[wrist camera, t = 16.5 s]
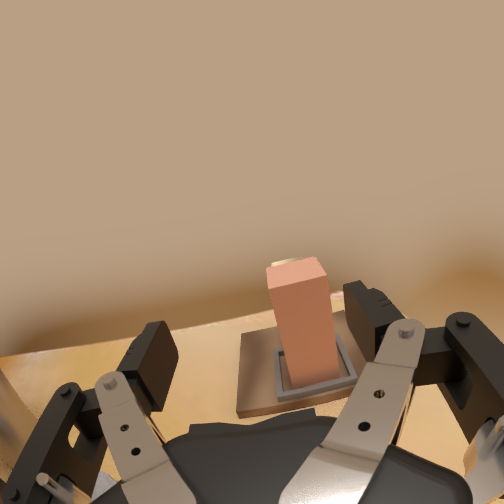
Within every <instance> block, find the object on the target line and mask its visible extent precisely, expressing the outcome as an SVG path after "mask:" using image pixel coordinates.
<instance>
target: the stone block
mask: <svg viewBox="0 0 504 504" xmlns="http://www.w3.org/2000/svg"><path fill="white" fill-rule="evenodd" d="M116 483H117V482H115V481H114V480H113V478H112V477H111V476H110V475H109V474H106V473H104V472H99V474H98V478H97V481H96V484H95V488H94V491H93V494H92V498H91V500H92V501H94V500H95V499H96V498H98V497H99V496H100V495H102V494H103V493H104V492H106V491H107V490H108V489H110V488H111V487H112V486H114V485H115V484H116Z"/></svg>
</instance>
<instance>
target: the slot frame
mask: <svg viewBox="0 0 504 504" xmlns="http://www.w3.org/2000/svg"><path fill="white" fill-rule="evenodd" d="M335 337H336V345H337V348H338V350H339V353H340V355H341V357H342V360H343V362H344V365H345V367H346V370H347V372H348V375H349V376H348V377H344V378H340V379H337V380H333V381H329V382H325V383H321V384H317V385H313V386H309V387H304V388H300V389H295V390H290V391H285V392H284V391H283V383H282V374H281V366H280V358H279V357H280V356H285V354H284V350H283V348H279V349H274V350H273V356H274V367H275V378H276V389H277V398H278V401H279V402H282V401H288V400H293V399H297V398H302V397H307V396H311V395H315V394H319V393H324V392H327V391H331V390H335V389H339V388H343V387H346V386H350V385H353V384H357V382H358V377H357V374H356V372H355V370H354V368H353V365H352V363H351V361H350V358H349V356H348V354H347V352H346V349H345V347H344V345H343V343H342V341H341V338H340V336H339V334H337V335H335Z"/></svg>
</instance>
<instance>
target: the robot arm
mask: <svg viewBox="0 0 504 504" xmlns="http://www.w3.org/2000/svg"><path fill="white" fill-rule="evenodd" d="M343 293H344V303H345V315H346V321H347V325H348V327H349V330H350V331H351V333H352V335H353V337H354V339H355V341H356V343H357V345H358V347H359V349H360V351H361V352H362V354H363V356H364V358H365V360H366V362H367V364H366V366H365V368H364V370H363V372H362V374H361V376H360V378H359V380H358V382H357V384H356V385H355V387H354V389H353V391H352V393H351V395H350V397H349V399H348V400H347V402H346V404H345V406H344V408H343V409H342V411H341V413H340V415H339V416H338V418H336V417H329V416H316V414H315V409H314V408H310V409H305V410H300V411H295V412H290V413H285V414H281V415H278V416H276V417H273V418H270V419H267V420H265V421H262V422H259V423H256V424H253V425H239V424H228V423H219V422H218V423H205V424H190V427H189V432H188V433H187V434H184V435H181V436H178V437H176V438H174V439H172V440H170V441H168V442H167V441H166V440H165V438H164V437H163V435H162V434H161V432H160V430H159V429H158V427H157V426H156V424H155V422H154V421H153V419H152V418H151V416H150V415H151V412H162V410H163V407H164V404H165V401H166V397H167V394H168V391H169V388H170V385H171V381H172V378H173V375H174V372H175V369H176V366H177V363H178V350H177V347H176V345H175V343H174V340H173V338H172V336H171V333H170V331H169V329H168V326H167V324H166V323H165V321H157V322H150V323H148V324H147V325H146V327H145V329H144V330H143V332H142V334H140V335H139V336H138V337H137V338H135V339H134V340H133V341H132V343H131V345H130V347H129V349H128V350H127V352H126V355H124V357H123V359H122V361H121V363H120V364H119V366H118V368H117V370H116V371H114V372H109V373H107V374H105V375H103V376H102V377H100V378H99V379H98V381H97V382H96V384H95V388H93V389H89V390H85V391H82V390H81V388H80V387H79V385H78V384H77V383H74V382H70V383H66V384H64V385H62V386H61V387H59V388H58V389H57V390H56V392H55V393H54V395H53V397H52V398H51V400H50V402H49V403H48V405H47V407H46V408H45V410H44V412H43V413H42V415H41V417H40V419H39V420H37V419H36V418H35V417H34V415H33V414H32V413H31V412H30V410H29V409H28V408H27V406H26V405H25V404H24V402H23V401H22V400H21V398H20V397H19V395H18V394H17V393H16V391H15V390H14V388H13V387H12V385H11V384H10V382H9V381H8V379H7V378H6V376H5V375H4V373H3V372H2V370H1V368H0V457H1V458H2V459H3V460H4V461H5V462H6V463H7V464H8V465H9V466H10V467H11V468H13V470H12V472H11V474H10V476H9V478H8V481H7V483H6V485H5V487H4V490H3V493H2V501H3V504H490V503H491V502H493V501H495V500H496V499H498V498H499V499H504V344H503V343H502V342H501V341H500V340H499V339H498V338H497V337H496V336H495V335H494V334H493V333H492V332H491V331H490V330H489V329H488V328H487V327H486V326H485V325H484V324H483V323H482V322H481V321H480V320H479V319H478V318H477V317H476V316H475V315H473V314H471V313H468V312H457V313H453V314H451V315H450V316H449V317H448V318H447V319H446V324H445V327H438V328H429V329H426V328H425V327H424V325H423V324H422V323H421V322H419V321H417V320H414V319H406V318H405V317H404V316H403V315H402V314H401V312H400V311H399V310H398V309H397V308H396V307H395V305H394V304H392V302H391V301H390V300H389V299H388V298H387V296H386V295H385V294H384V293H383V292H381V291H379V290H377V289H374V288H372V289H367V288H366V286H365V285H364V284H363V283H362V282H361V281H360V280H358V281H355V282H351V283H347V284H344V285H343ZM430 384H437V386H438V387H439V389H440V391H441V393H442V394H443V396H444V398H445V400H446V401H447V403H448V405H449V407H450V409H451V410H452V412H453V414H454V416H455V418H456V420H457V421H458V423H459V425H460V427H461V429H462V431H463V433H464V435H465V437H466V439H467V441H468V443H469V447H468V448H467V450H466V452H465V454H464V459H463V461H464V467H465V476H464V478H463V477H462V476H460V475H459V474H458V473H456V472H454V471H452V470H450V469H447V468H445V467H443V466H440V465H438V464H435V463H433V462H431V461H428V460H426V459H424V458H421V457H419V456H417V455H415V454H413V453H410V452H408V451H406V450H404V449H402V448H400V447H398V446H397V444H398V442H399V439H400V436H401V433H402V430H403V427H404V424H405V421H406V418H407V415H408V412H409V409H410V406H411V403H412V400H413V396H414V393H415V390H416V386H422V385H430ZM73 425H74V426H75V427H76V428H77V429H78V430H79V432H80V434H79V436H78V438H77V441H76V443H75V445H74V448H72V447H71V446H70V444H69V441H68V435H69V432H70V430H71V428H72V426H73ZM107 446H108V447H109V450H110V452H111V455H112V457H113V460H114V462H115V465H116V467H117V469H118V472H119V474H120V476H121V480H120V481H119V482H117V483H116V484H115V485H114V486H112V487H111V488H110V489H108V490H107V491H106V492H104V493H103V494H102V495H100V496H99V497H98V498H96V499H95V500H94V501H92V500H91V498H92V494H93V491H94V488H95V484H96V481H97V478H98V474H99V471H100V468H101V465H102V462H103V459H104V455H105V452H106V449H107Z"/></svg>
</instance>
